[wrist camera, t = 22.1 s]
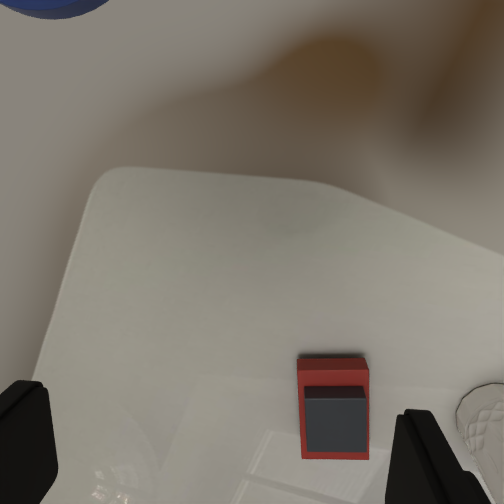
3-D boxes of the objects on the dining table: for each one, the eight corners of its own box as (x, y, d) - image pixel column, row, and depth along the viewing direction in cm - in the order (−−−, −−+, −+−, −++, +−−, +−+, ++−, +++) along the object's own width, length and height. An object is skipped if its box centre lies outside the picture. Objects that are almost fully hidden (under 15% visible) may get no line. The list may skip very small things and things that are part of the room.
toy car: (297, 382, 32) (373, 381, 31) (296, 353, 36) (362, 352, 35) (302, 474, 34) (373, 476, 33) (300, 436, 38) (363, 436, 38)
